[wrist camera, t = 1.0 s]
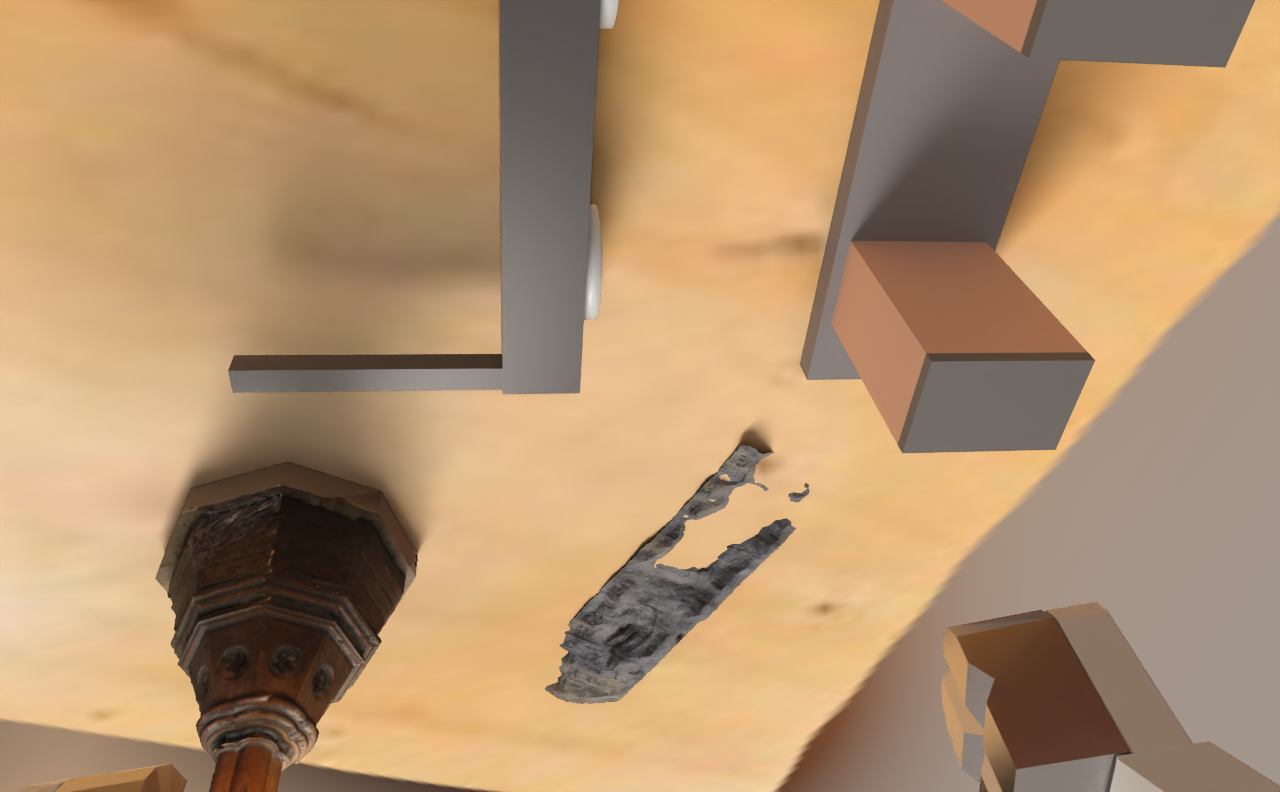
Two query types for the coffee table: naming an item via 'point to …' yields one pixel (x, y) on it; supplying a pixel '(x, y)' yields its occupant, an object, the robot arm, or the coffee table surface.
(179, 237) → the coffee table surface
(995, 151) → the stand
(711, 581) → the driftwood
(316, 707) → the bird statue
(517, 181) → the glasses
